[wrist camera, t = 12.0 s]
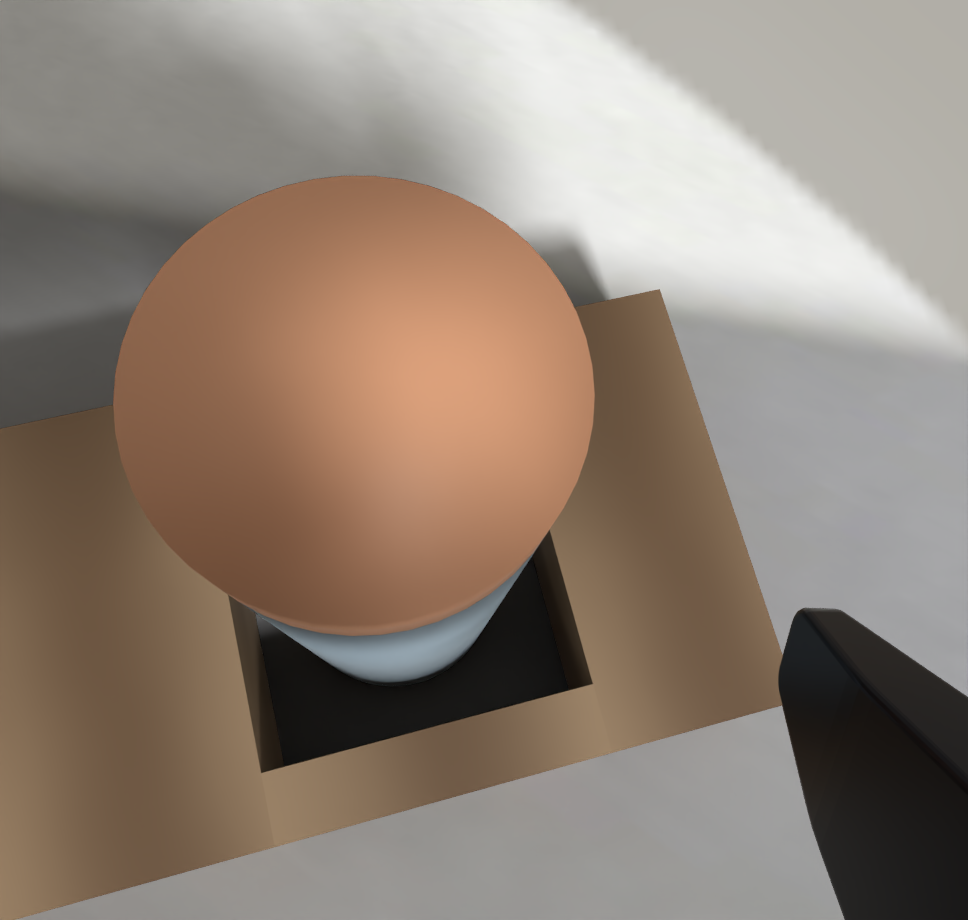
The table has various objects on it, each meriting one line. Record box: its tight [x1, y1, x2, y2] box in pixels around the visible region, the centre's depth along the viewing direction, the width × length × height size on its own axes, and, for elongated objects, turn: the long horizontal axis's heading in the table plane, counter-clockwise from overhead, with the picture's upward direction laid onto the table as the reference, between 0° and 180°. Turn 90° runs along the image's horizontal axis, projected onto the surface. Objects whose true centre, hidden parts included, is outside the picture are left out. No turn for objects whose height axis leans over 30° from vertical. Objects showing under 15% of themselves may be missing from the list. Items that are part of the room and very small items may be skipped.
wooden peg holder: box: [0, 289, 783, 920], centre depth 19 cm, size 26×9×3 cm, turn 104°
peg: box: [113, 176, 595, 686], centre depth 15 cm, size 4×4×13 cm
